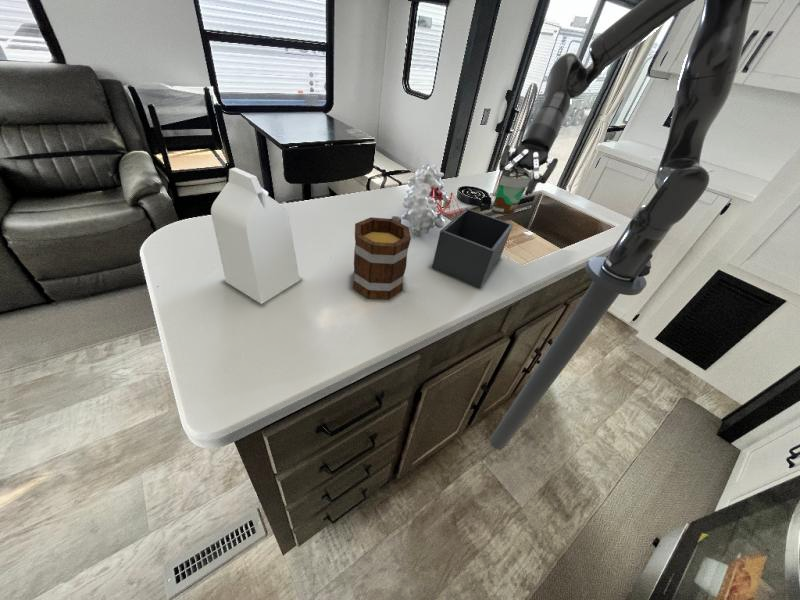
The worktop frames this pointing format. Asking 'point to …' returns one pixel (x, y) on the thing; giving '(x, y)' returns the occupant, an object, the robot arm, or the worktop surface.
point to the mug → (380, 257)
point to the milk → (253, 238)
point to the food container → (511, 191)
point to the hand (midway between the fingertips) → (513, 189)
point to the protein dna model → (426, 200)
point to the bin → (471, 246)
